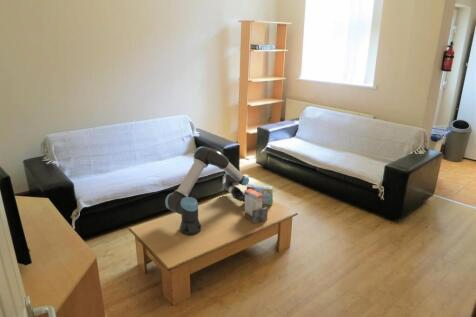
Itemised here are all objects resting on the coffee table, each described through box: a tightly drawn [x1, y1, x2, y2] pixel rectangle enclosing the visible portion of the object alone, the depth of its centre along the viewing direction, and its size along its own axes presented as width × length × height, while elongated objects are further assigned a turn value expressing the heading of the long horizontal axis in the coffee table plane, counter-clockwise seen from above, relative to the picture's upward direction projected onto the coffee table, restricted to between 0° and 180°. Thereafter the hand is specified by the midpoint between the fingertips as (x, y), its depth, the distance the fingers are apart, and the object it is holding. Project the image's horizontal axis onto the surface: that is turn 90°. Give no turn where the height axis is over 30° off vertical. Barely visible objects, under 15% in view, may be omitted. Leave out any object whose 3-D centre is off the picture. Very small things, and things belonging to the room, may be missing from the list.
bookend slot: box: [244, 206, 269, 224], centre depth 262 cm, size 12×13×10 cm
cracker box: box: [244, 189, 263, 217], centre depth 262 cm, size 14×6×21 cm, turn 38°
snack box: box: [246, 183, 274, 206], centre depth 285 cm, size 21×6×15 cm, turn 75°
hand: (249, 202), depth 269 cm, fingers closed
